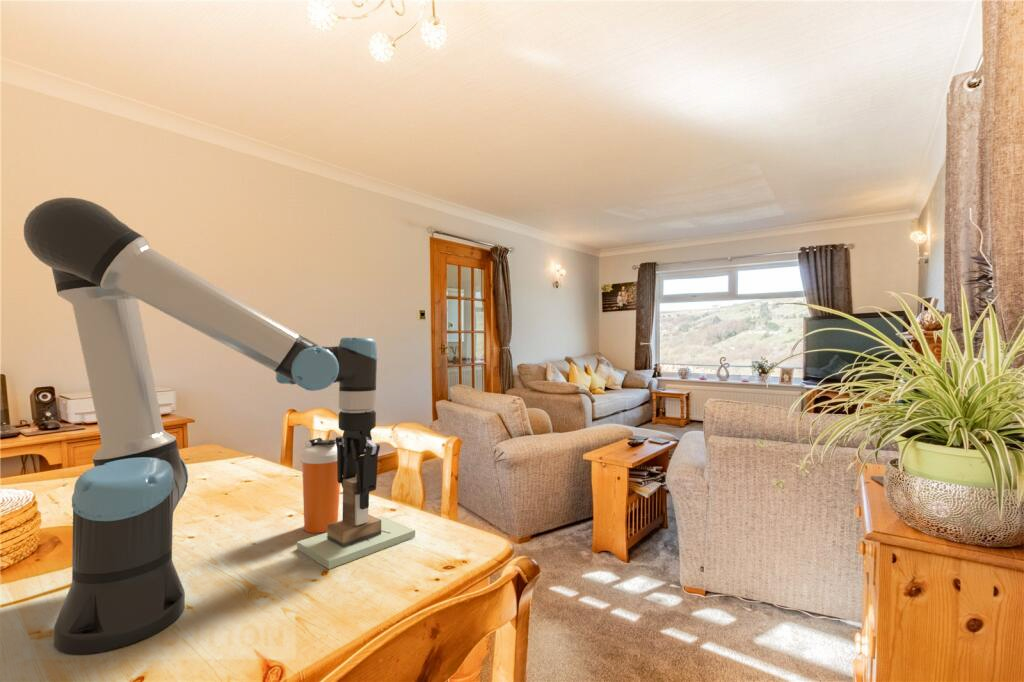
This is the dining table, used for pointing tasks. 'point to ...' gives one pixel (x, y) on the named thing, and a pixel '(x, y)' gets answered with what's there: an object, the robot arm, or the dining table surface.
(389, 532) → the board
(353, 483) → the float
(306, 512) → the shaker bottle
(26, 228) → the robot arm
